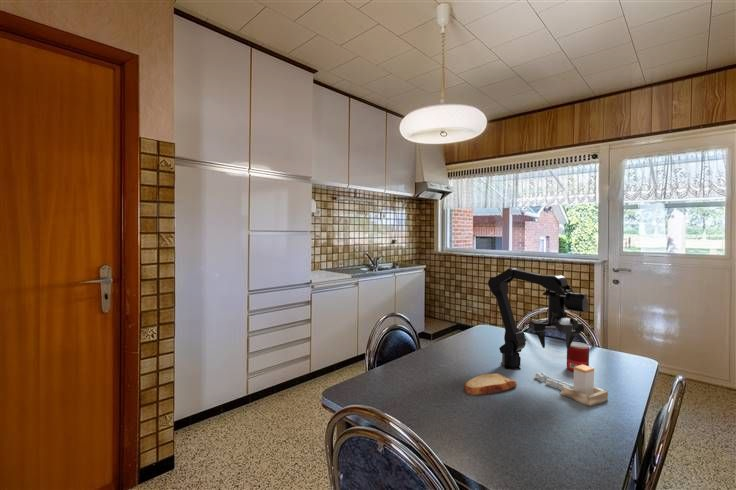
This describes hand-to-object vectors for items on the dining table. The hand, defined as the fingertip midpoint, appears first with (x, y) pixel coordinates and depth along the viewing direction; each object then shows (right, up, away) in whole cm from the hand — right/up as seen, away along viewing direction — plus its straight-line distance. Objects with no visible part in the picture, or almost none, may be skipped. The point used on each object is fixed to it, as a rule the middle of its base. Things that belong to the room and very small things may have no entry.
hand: (555, 348), depth 134 cm
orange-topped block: (+3, -13, -13) cm, 18 cm away
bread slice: (-27, -14, -5) cm, 31 cm away
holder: (+3, -13, -13) cm, 19 cm away
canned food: (+16, -13, +12) cm, 23 cm away
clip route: (-2, -13, -3) cm, 14 cm away
